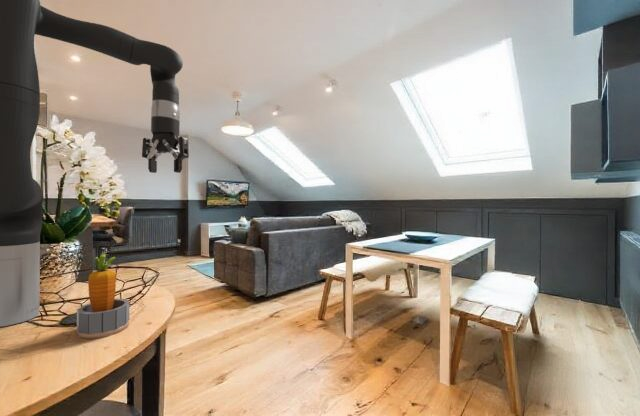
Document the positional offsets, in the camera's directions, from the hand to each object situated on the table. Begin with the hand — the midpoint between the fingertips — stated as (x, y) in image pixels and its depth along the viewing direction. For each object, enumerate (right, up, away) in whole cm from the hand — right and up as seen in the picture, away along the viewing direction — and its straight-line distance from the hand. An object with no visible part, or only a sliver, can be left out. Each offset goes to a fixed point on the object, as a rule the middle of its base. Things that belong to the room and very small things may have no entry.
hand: (165, 172), depth 85 cm
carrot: (+1, -36, -25) cm, 44 cm away
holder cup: (+1, -37, -25) cm, 44 cm away
